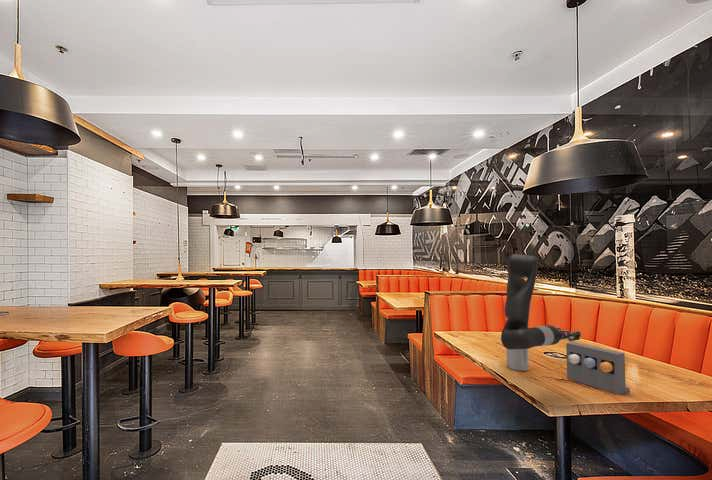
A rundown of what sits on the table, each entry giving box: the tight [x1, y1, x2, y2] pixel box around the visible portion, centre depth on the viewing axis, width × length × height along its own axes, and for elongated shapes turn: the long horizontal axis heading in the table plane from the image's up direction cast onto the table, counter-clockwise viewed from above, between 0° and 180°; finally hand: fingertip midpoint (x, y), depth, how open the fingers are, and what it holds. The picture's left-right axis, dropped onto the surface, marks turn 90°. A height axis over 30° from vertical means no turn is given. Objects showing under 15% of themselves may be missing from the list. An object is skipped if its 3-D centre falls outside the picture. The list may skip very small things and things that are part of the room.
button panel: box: [565, 341, 631, 396], centre depth 150 cm, size 21×8×16 cm, turn 27°
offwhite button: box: [569, 354, 581, 364], centre depth 154 cm, size 4×3×4 cm
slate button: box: [584, 357, 597, 368], centre depth 149 cm, size 4×3×4 cm
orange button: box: [600, 361, 614, 373], centre depth 143 cm, size 4×3×4 cm
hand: (569, 332), depth 143 cm, fingers open, 7 cm apart
